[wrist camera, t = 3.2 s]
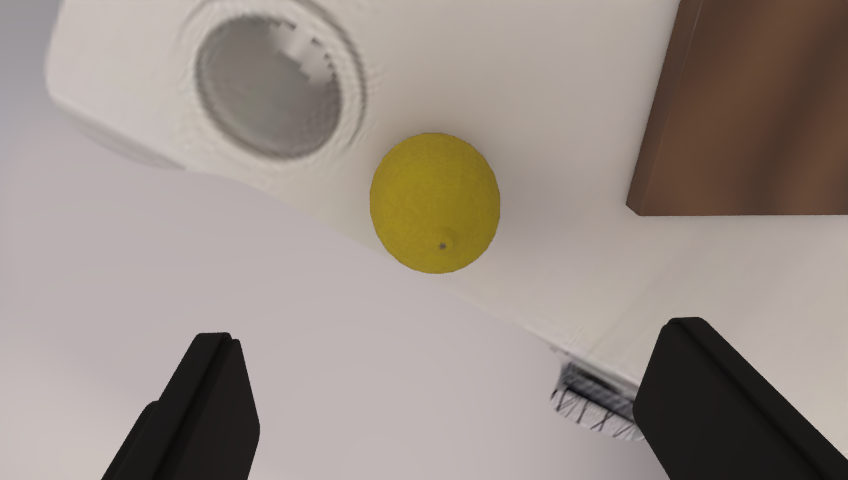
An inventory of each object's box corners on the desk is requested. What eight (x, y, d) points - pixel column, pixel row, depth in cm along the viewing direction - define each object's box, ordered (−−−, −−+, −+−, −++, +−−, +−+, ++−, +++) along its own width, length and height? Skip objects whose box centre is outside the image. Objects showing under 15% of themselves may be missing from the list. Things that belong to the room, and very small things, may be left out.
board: (1001, -48, 19) (1047, -52, 17) (861, 203, 24) (888, 214, 23) (696, -59, 18) (720, -65, 16) (625, 204, 24) (638, 216, 22)
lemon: (403, 94, 20) (408, 141, 13) (501, 146, 22) (553, 214, 15) (355, 192, 22) (338, 278, 15) (448, 233, 24) (470, 328, 17)
